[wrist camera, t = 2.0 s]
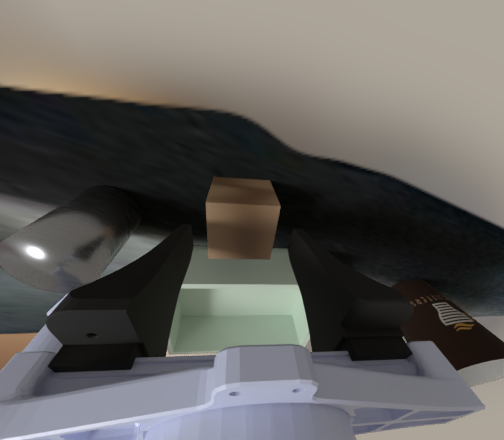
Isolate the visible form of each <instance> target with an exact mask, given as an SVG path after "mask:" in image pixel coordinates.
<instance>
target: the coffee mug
mask: <svg viewBox="0 0 504 440" xmlns="http://www.w3.org/2000/svg"><path fill="white" fill-rule="evenodd" d="M391 288H393V289H395V290H398V291H400V292H401V293H402V294H403V295H404V296H405V297H406V299H407V300H408V301H409V302H410V303H411V305H412V306H413V309H414V310H413V314H412V316H411V317H410V318H409V319H408V320H407V321H406V322H405V323H404V324H403V325H402V326H401V327H400V329H401V330H402V331H403V333H404V337H405V339H406V341H407V343H408V342H412V341H432V342H433V343H434V344H435V345H436V346H437V348H438V349H439V350H440V351H441V353H442V354H443V355H444V356H445V357H446V359H447V360H448V361H449V362H450V364H451V365H452V366H453V367H454V369H455V370H456V371H457V372H458V373H459V375H460V376H461V377H462V378H463V380H464V381H465V382H466V383H467V385H468V386H469V387H473V386H476V385H481V384H485V383H488V382H491V381H494V380H497V379H500V378H503V377H504V342H503V341H502V340H500V339H499V338H498V337H496V336H495V335H494V334H492V333H491V332H490V331H489V330H487V329H486V328H485V327H483V326H482V325H481V324H480V323H478V322H477V321H476V320H474V319H473V318H472V317H471V316H469V315H468V314H467V313H465V312H464V311H463V310H462V309H460V308H459V307H458V306H456V305H455V304H454V303H453V302H451V301H450V300H449V299H447V298H446V297H445V296H444V295H442V294H441V293H440V292H438V291H437V290H436V289H435V288H433V287H432V286H431V285H429V284H428V283H427V282H426V281H424V280H421V279H410V280H406V281H403V282H400V283H398V284H396V285H394V286H393V287H391Z"/></svg>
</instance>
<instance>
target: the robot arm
mask: <svg viewBox="0 0 504 440" xmlns="http://www.w3.org/2000/svg"><path fill="white" fill-rule="evenodd" d="M192 252H193V237H192V226H191V224H181V225H180V226H179V227H178V228H177V229H176V230H175V231H174V232H173V233H171V234H170V235H169V236H168V237H167V238H166V239H165V240H163V241H162V242H161V243H160V244H158V245H157V246H156V247H155V248H153V249H152V250H151V251H149V252H148V253H146V254H145V255H143V256H142V257H140V258H139V259H137V260H135V261H134V262H132V263H130V264H128V265H127V266H125V267H123V268H121V269H119V270H117V271H115V272H113V273H111V274H109V275H107V276H105V277H103V278H100V279H98V280H96V281H93V282H91V283H88V284H86V285H83V286H81V287H78V288H76V289H73V290H71V291H70V292H69V293H68V294H66V295H65V296H64V297H63V298H62V299H61V300H60V301H59V302H58V303H57V304H56V305H55V306H54V307H53V308H52V309H51V310H49V311H48V313H47V315H48V317H47V319H46V325H45V326H44V327H43V328H42V329H41V330H40V331H39V333H38V334H37V335H36V336H35V337H34V338H33V340H32V341H31V342H30V343H29V344H28V345H27V347H26V348H25V349H24V350H23V351H22V352H18V353H16V354H15V355H14V356H13V358H12V359H11V360H10V361H9V362H8V363H7V364H6V366H5V367H4V368H3V369H2V370H1V371H0V440H356V437H355V435H357V434H364V433H371V432H379V431H385V430H392V429H400V428H407V427H414V426H424V425H434V424H444V423H447V422H450V421H453V420H456V419H458V418H461V417H464V416H466V415H469V414H472V413H475V412H477V411H480V410H483V409H485V406H484V404H483V403H482V402H481V401H480V399H479V398H478V397H477V396H476V394H475V393H474V392H473V391H472V389H471V388H470V387H469V386H468V385H467V383H466V382H465V381H464V380H463V378H462V377H461V376H460V375H459V373H458V372H457V371H456V370H455V369H454V367H453V366H452V365H451V364H450V362H449V361H448V360H447V359H446V357H445V356H444V355H443V354H442V353H441V351H440V350H439V349H438V348H437V346H436V345H435V344H434V343H433V342H432V341H412V342H408V343H405V341H404V340H403V338H402V337H403V336H404V333H403V331H402V330H401V329H400V327H401V326H402V325H403V324H404V323H405V322H406V321H407V320H408V319H409V318H410V317H411V316H412V314H413V310H414V309H413V306H412V305H411V303H410V302H409V301H408V300H407V299H406V297H405V296H404V295H403V294H402V293H401V292H400V291H398V290H395V289H393V288H391V287H388V286H386V285H384V284H381V283H379V282H377V281H375V280H373V279H371V278H369V277H367V276H365V275H363V274H361V273H359V272H358V271H356V270H354V269H352V268H351V267H349V266H347V265H346V264H344V263H343V262H341V261H340V260H338V259H337V258H336V257H334V256H333V255H332V254H330V253H329V252H328V251H326V250H325V249H324V248H323V247H322V246H320V245H319V244H318V243H317V242H316V241H315V240H314V239H312V238H311V237H310V236H309V235H308V234H307V233H306V232H305V231H303V230H302V229H293V232H292V236H291V239H290V243H289V247H288V255H289V260H290V263H291V266H292V269H293V272H294V275H295V278H296V281H297V284H298V286H299V289H300V293H301V296H302V300H303V305H304V309H305V314H306V319H307V323H308V329H309V334H310V339H311V346H312V352H310V351H309V350H308V349H306V348H305V347H303V346H302V345H295V344H274V345H239V346H232V347H227V348H225V349H223V350H221V351H220V352H219V353H218V354H217V355H209V356H177V357H166V352H167V346H168V341H169V336H170V331H171V327H172V322H173V317H174V313H175V309H176V304H177V300H178V296H179V293H180V289H181V286H182V284H183V281H184V278H185V275H186V272H187V270H188V267H189V264H190V261H191V257H192Z"/></svg>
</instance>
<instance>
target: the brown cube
mask: <svg viewBox="0 0 504 440" xmlns="http://www.w3.org/2000/svg"><path fill="white" fill-rule="evenodd" d="M280 208H281V205H280V203H279V201H278V198H277V196H276V194H275V191H274V189H273V186H272V184H271V182H270V180H256V179H240V178H225V177H214V178H213V181H212V184H211V187H210V190H209V194H208V197H207V200H206V220H207V242H208V258H209V259H259V260H270V258H271V253H272V248H273V243H274V238H275V233H276V228H277V223H278V218H279V213H280Z"/></svg>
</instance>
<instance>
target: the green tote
mask: <svg viewBox="0 0 504 440" xmlns="http://www.w3.org/2000/svg"><path fill="white" fill-rule="evenodd" d="M309 339H310V334H309V329H308V323H307V319H306V314H305V309H304V305H303V300H302V296H301V293H300V289H299V286H298V284H297V281H296V278H295V275H294V272H293V269H292V266H291V263H290V260H289V255H288V249H287V248H272V253H271V258H270V260H259V259H209V258H208V246H193V252H192V257H191V261H190V264H189V267H188V270H187V272H186V275H185V278H184V281H183V284H182V286H181V289H180V293H179V296H178V300H177V304H176V309H175V313H174V317H173V322H172V327H171V331H170V336H169V341H168V346H167V350H168V353H169V354H190V353H191V354H192V353H219V352H220V351H221V350H223V349H225V348H227V347H232V346H239V345H274V344H295V345H302V346H303V347H305V346H306V344H307V342H308V341H309Z"/></svg>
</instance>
